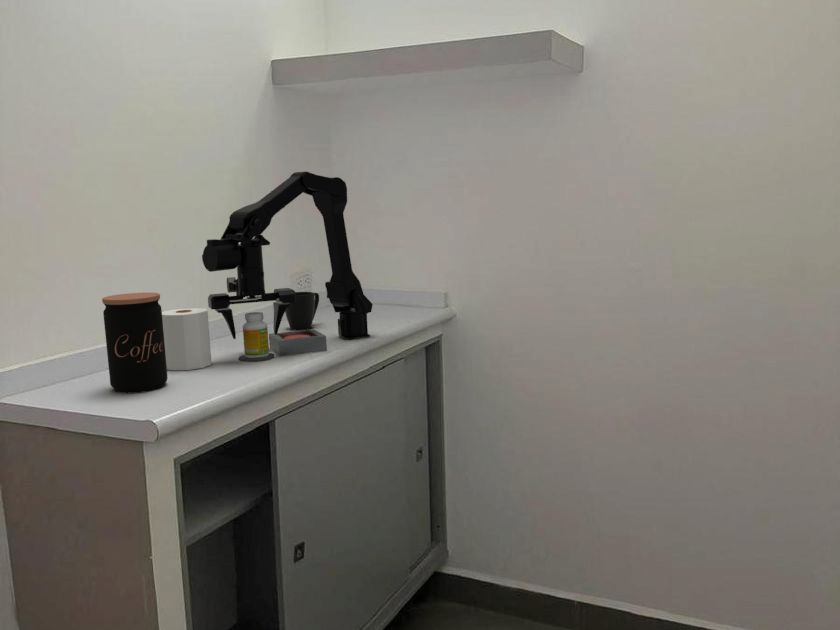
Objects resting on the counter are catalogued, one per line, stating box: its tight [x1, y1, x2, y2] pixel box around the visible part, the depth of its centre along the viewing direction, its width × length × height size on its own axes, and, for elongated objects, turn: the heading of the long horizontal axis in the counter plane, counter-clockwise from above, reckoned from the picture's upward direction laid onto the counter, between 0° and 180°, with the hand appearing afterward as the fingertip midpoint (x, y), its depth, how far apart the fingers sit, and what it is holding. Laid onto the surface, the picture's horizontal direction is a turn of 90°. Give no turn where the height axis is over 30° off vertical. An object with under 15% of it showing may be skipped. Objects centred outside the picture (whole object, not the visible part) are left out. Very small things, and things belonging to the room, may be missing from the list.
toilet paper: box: [162, 307, 213, 371], centre depth 181 cm, size 10×10×12 cm
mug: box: [284, 291, 320, 331], centre depth 226 cm, size 8×12×10 cm
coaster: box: [238, 352, 276, 363], centre depth 187 cm, size 8×8×1 cm
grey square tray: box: [268, 328, 328, 357], centre depth 195 cm, size 11×11×4 cm
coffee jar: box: [101, 292, 168, 394], centre depth 162 cm, size 11×11×18 cm
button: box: [284, 335, 310, 339], centre depth 195 cm, size 6×6×2 cm
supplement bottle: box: [242, 311, 270, 358], centre depth 186 cm, size 5×5×10 cm
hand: (255, 336), depth 186 cm, fingers open, 9 cm apart
